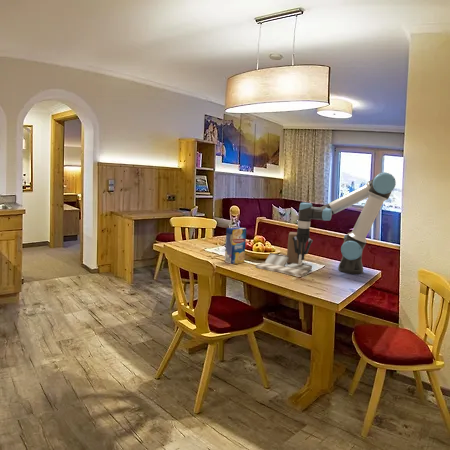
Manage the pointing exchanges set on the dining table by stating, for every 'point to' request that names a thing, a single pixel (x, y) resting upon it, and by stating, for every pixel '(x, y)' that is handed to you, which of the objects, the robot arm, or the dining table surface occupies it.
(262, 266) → the grey ridged flat tray
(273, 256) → the grey ridged flat piece
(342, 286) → the dining table surface
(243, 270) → the dining table surface
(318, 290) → the dining table surface
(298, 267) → the grey wavy slab
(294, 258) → the wooden block
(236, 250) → the blue food box
